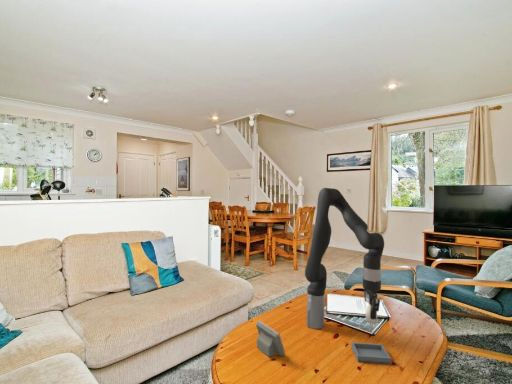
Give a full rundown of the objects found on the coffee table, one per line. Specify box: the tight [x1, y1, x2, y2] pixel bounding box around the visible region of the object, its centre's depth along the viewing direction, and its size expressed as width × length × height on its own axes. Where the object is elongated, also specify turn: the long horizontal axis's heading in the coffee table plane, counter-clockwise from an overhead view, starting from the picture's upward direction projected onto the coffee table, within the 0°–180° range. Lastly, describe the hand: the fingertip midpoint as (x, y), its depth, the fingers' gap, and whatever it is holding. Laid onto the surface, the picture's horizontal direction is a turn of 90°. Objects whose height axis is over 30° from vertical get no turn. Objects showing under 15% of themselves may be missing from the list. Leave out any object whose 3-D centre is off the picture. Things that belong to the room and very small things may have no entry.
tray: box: [350, 341, 392, 365], centre depth 118 cm, size 14×11×2 cm
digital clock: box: [255, 320, 286, 358], centre depth 121 cm, size 16×9×11 cm, turn 24°
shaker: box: [365, 298, 378, 325], centre depth 118 cm, size 5×5×10 cm
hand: (371, 316), depth 118 cm, fingers closed on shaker, 4 cm apart
